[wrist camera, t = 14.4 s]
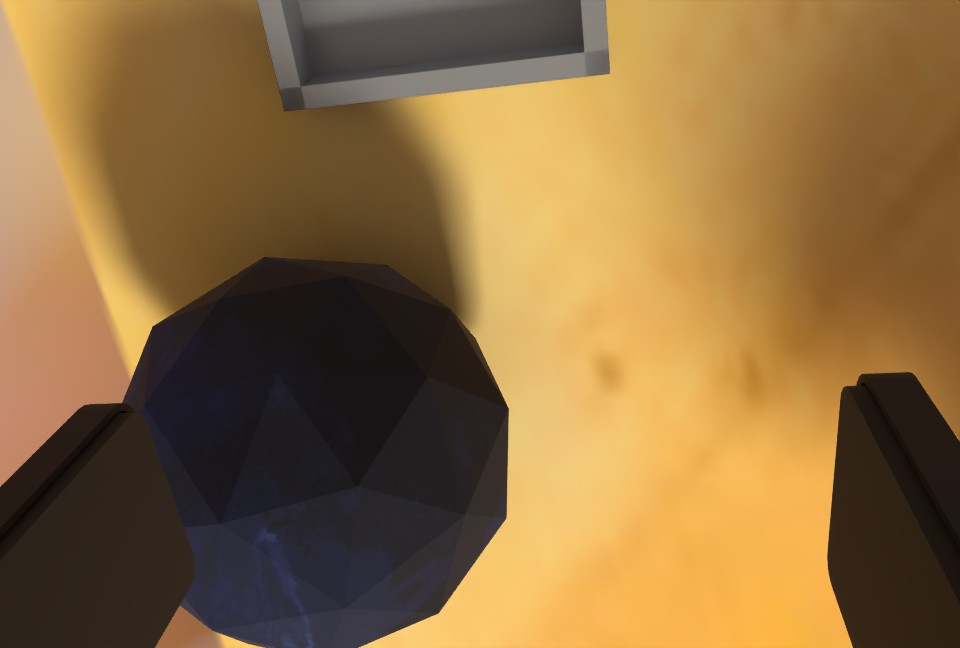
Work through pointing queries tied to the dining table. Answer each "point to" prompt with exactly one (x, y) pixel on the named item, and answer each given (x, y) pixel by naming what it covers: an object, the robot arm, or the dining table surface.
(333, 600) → the decorative orb
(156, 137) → the dining table surface
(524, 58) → the tray
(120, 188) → the dining table surface
